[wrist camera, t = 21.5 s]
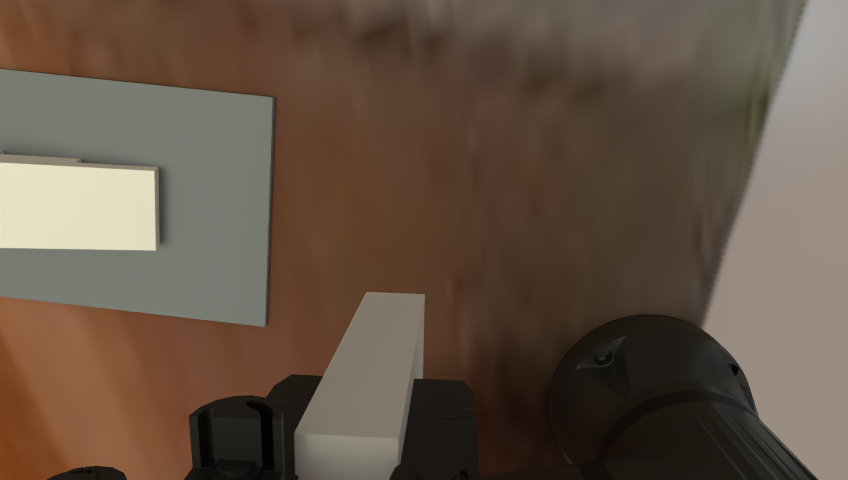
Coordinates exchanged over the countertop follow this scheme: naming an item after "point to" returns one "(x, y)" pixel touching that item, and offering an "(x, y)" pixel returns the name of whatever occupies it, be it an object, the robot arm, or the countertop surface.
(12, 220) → the ivory domino
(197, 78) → the countertop surface
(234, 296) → the domino mat
